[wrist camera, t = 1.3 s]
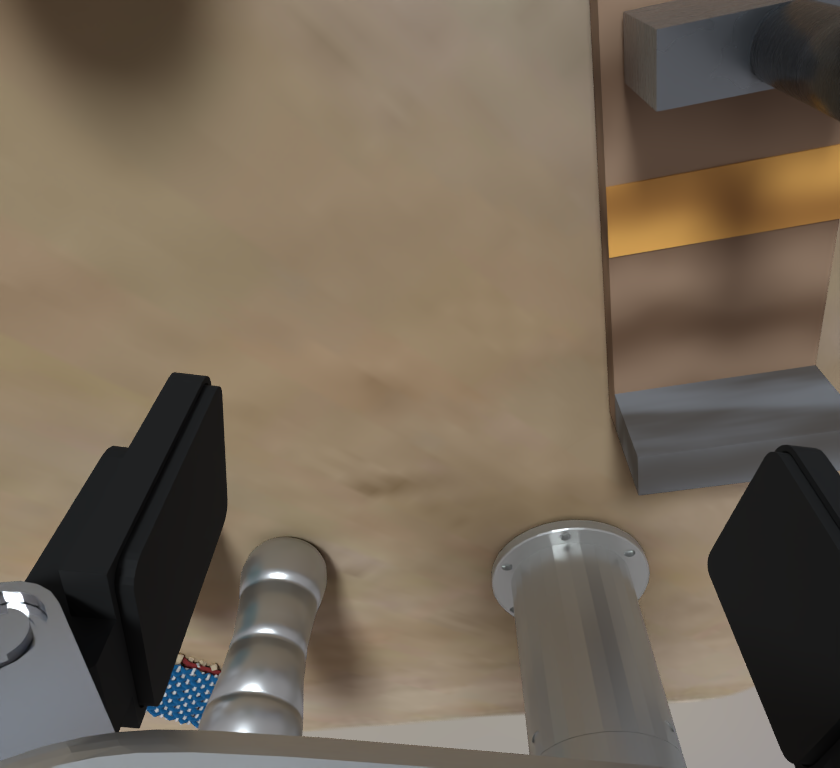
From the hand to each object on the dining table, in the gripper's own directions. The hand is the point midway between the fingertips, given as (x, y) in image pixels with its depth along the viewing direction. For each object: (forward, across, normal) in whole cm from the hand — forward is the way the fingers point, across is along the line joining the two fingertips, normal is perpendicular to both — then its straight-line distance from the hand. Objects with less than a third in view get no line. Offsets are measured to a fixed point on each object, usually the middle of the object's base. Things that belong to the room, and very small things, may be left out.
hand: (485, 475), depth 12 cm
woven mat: (+28, +17, +57) cm, 66 cm away
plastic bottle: (+28, +8, +36) cm, 46 cm away
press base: (+28, -15, +4) cm, 32 cm away
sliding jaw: (+26, -12, -5) cm, 29 cm away
